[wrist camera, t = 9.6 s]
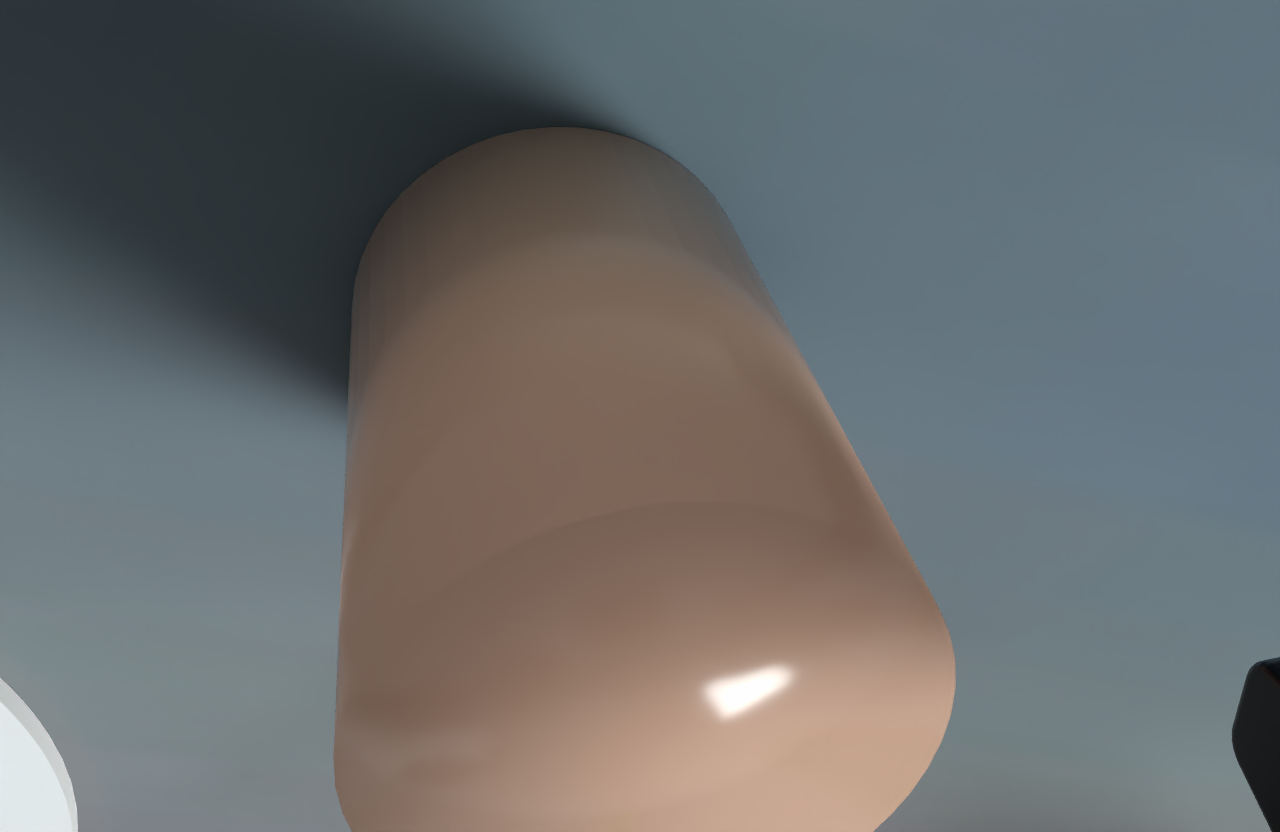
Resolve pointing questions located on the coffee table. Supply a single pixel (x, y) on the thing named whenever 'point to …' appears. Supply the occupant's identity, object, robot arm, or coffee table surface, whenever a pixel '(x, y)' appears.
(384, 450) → the cylinder
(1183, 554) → the coffee table surface
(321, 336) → the coffee table surface
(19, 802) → the panda figurine
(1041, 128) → the coffee table surface
